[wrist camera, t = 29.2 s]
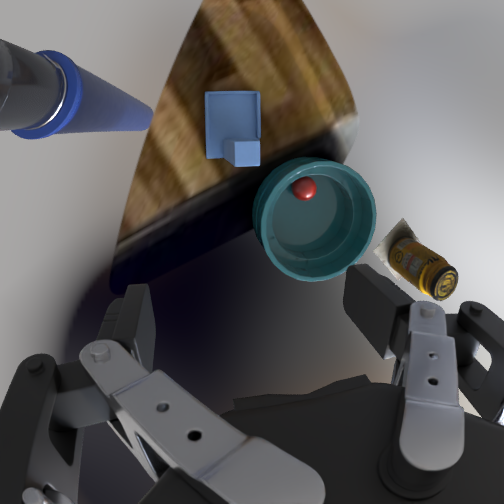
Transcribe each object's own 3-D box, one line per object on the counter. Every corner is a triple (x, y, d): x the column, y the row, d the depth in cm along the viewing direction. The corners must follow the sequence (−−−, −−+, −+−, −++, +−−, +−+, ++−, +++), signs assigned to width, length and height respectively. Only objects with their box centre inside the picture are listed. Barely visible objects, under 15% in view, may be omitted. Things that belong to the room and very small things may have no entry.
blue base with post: (258, 156, 40) (281, 165, 30) (206, 158, 39) (211, 168, 29) (257, 91, 37) (281, 79, 27) (204, 92, 36) (209, 78, 26)
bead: (288, 179, 39) (290, 176, 42) (292, 204, 40) (294, 199, 43) (314, 176, 38) (314, 173, 41) (318, 201, 39) (318, 196, 42)
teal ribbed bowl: (252, 267, 46) (261, 287, 40) (250, 157, 40) (260, 161, 34) (350, 258, 48) (369, 274, 43) (357, 157, 42) (380, 162, 37)
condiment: (397, 279, 52) (439, 314, 41) (372, 250, 48) (416, 284, 37) (424, 248, 50) (470, 277, 39) (401, 217, 47) (451, 242, 36)
